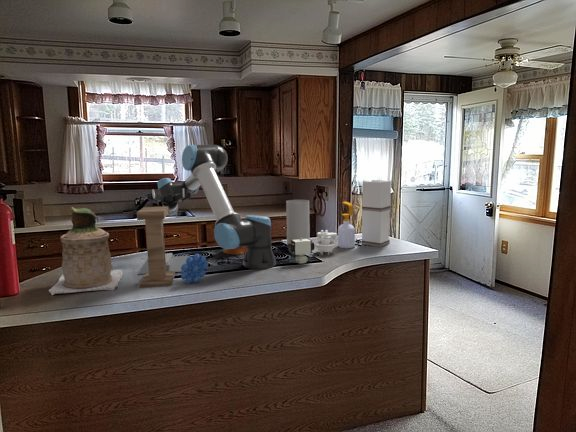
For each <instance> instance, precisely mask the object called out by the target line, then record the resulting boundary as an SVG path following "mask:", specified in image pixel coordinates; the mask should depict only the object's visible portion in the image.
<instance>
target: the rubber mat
mask: <svg viewBox="0 0 576 432" xmlns="http://www.w3.org/2000/svg"><path fill="white" fill-rule="evenodd" d="M188 257H191V256H190V255H175V256H173V258H172V261H171V268H170V270H167V271H175V272H180V273H182V270H181V267H182V265H183V264H187V263H186V259H187V258H188ZM146 272H149V267H148V259H147V260H146V261H145V263H144V264H143V265H142V267H141V268H140V270H139V272H138V273H137V276H145V274H146Z"/></svg>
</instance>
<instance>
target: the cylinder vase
mask: <svg viewBox="0 0 576 432" xmlns="http://www.w3.org/2000/svg"><path fill="white" fill-rule="evenodd" d="M285 203H286V204H285V207H286V210H285V211H286V245H287V247H288V244H289V243H290V242H291V240H297V239H300V238H302V239H310V240H311V238H310V234H311V233H310V229H311V228H310V200H308V199H289V200H286V202H285Z"/></svg>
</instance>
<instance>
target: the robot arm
mask: <svg viewBox="0 0 576 432" xmlns="http://www.w3.org/2000/svg"><path fill="white" fill-rule="evenodd" d="M228 159H229V158H228V153H227V151H226V150H225V149H224V148H223V147H222V146H220V145H218V144H189V145H186V146H185V147H184V149H183V151H182V155H181V163H182V167H183V169H184V170H185V171H189V172H191V174H190V175H189V176H188V177H187V178H186V179H185V180H182V181H172V179H171V178H170V177H163V178H161V179H159V180H157V189H158V192H159V194H158V193H157V194H156V192H155V189H154V188H153V189H151V190H152V191H151V192H150V193H147V194H146V199H147V200H149V201H151V202H153V203H155V204H159V202H161V204H162V206H169V214H168V215H167V216H174V215H176V214H177V213H178V212H179V204H178V203H179V202H181V203H185V201H187V200H189V199H191V197H192V195H194V194H198V192H199V189H200V187H201V188H202V190H203V192H204V195H205V197H206V199H207V202H208V204H209V206H210V209H211V210H212V213H213V215H214V217H215V220H216V221H215V224H214V229H213V234H214V235H213V237H214V239H215V242H216V244H217V245H218V246H219V247H220V248H222V249H223V250H224V249H235V248H238V247H243V246H246V252H245V253H244V256H243V259H242V265H243V267H244V268H246V269H251V270H252V269H253V270H263V269H269V268H273V267H275V266H276V264H277V263H276V262H277V261H276V260H277V259H276V257H275V253H274V251H273V248H272V223H271V218H270V217H268V216H264V215H263V216H262V215H253V214H252V215H251V214H249V215H248V214H247V215H245V217H244V219H242V218H241V215H240V214H239V213H238V212H235V211H234V208H233V206H232V204H231V202H230V199H229V198H228V196H227V193H226V191H225V190H224V187H223V185H222V183H221V181H220V179H219V177H218V174H217V173H219V172H221V171H222V170H223V169H225V167H226V166H227V164H228V161H229V160H228Z"/></svg>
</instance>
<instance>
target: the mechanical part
mask: <svg viewBox="0 0 576 432" xmlns="http://www.w3.org/2000/svg"><path fill="white" fill-rule="evenodd" d="M316 234H317V237H316V240H317V241H316V242H314V246H315V248H318V249H317V250H318V251H319V252H320V254H321V255H324V253H327V255H328V256H329V255H330V254H332V251H333V250H334V248H336V247H337V243H338V232H337V233H336V232H329V230H328V229H325V231H324V230H323V229H321V230H320V231H319V232H316Z"/></svg>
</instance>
